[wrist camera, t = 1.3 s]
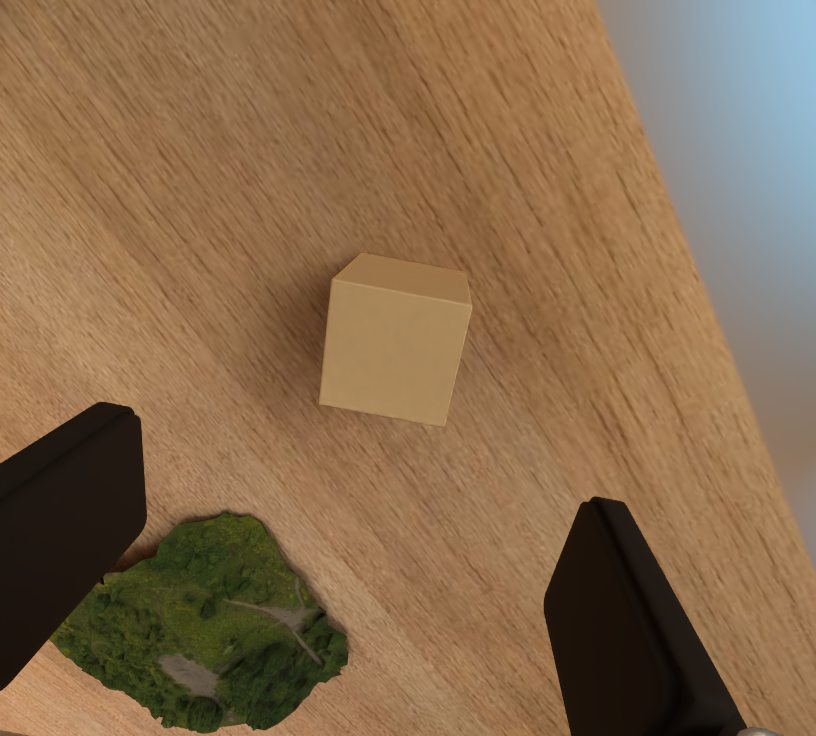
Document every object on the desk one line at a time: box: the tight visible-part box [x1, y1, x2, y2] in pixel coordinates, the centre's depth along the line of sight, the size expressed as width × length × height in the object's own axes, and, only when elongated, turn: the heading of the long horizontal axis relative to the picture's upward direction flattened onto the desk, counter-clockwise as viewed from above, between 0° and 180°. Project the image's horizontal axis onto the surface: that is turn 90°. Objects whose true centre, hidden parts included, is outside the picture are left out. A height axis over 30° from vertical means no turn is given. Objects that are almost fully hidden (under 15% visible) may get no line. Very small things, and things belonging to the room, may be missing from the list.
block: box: [319, 253, 472, 427], centre depth 20 cm, size 5×5×6 cm
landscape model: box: [49, 513, 348, 734], centre depth 31 cm, size 17×21×5 cm
